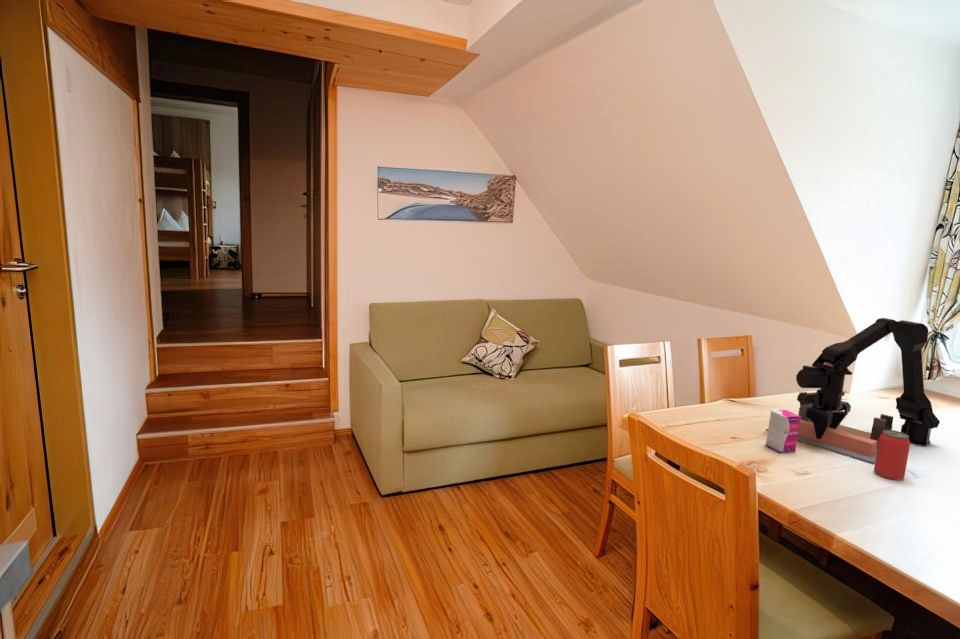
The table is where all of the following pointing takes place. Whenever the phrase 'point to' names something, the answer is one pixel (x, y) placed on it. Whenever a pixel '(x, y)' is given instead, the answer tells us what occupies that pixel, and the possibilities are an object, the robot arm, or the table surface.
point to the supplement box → (783, 431)
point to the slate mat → (837, 449)
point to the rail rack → (876, 431)
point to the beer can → (892, 454)
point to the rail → (840, 439)
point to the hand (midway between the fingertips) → (824, 435)
